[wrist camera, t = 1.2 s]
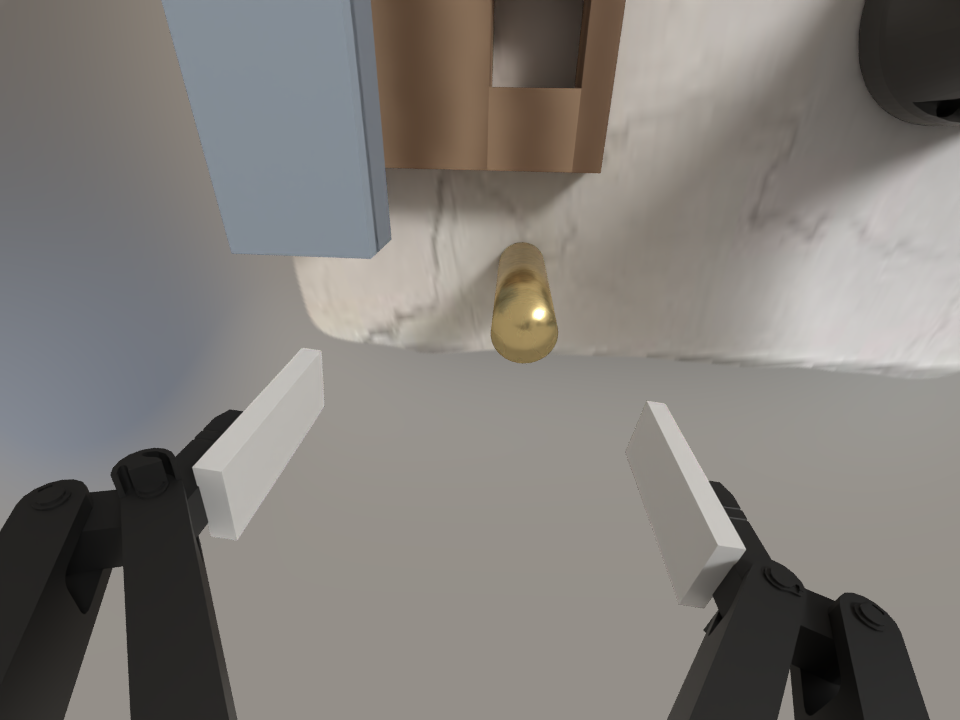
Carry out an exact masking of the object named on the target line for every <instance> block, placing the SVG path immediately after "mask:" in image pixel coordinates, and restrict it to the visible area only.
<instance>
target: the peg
mask: <svg viewBox="0 0 960 720" xmlns="http://www.w3.org/2000/svg"><path fill="white" fill-rule="evenodd" d="M557 338H558V328H557V322H556V318H555V313H554V308H553V303H552V298H551V293H550V288H549V283H548V278H547V273H546V268H545V263H544V259H543V256H542V254H541V252H540V251H539V249H537V248H536V247H535V246H534V245H532V244H529V243H524V242H520V243H515V244H513V245H510V246H509V247H508V248H506V249H505V250H504V252H503V253H502V255H501V257H500V260H499V267H498V276H497V284H496V293H495V301H494V310H493V318H492V327H491V339H492V343H493V345H494V347H495V349H496V350H497V352H498V353H499V354H500V355H502V356H503V357H504V358H506V359H508V360H510V361H513V362H517V363H532V362H535V361H538V360H540V359H542V358H544V357H545V356H547V355H548V354H549V353H550V352H551V351H552V349H553V348H554V346H555V344H556V342H557Z"/></svg>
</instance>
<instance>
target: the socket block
mask: <svg viewBox="0 0 960 720" xmlns="http://www.w3.org/2000/svg"><path fill="white" fill-rule="evenodd" d="M625 2H626V0H584V4H583V14H582V23H581V32H580V41H579V51H578V60H577V69H576V79H575V88H514V87H492V72H493V34H494V0H371V10H372V22H373V33H374V45H375V56H376V68H377V79H378V91H379V102H380V114H381V125H382V137H383V148H384V160H385V168H414V169H453V170H492V171H531V172H570V173H601V167H602V160H603V153H604V146H605V139H606V132H607V125H608V118H609V112H610V105H611V98H612V91H613V84H614V77H615V70H616V64H617V57H618V50H619V43H620V36H621V29H622V22H623V15H624V9H625Z"/></svg>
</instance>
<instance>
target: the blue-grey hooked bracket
mask: <svg viewBox="0 0 960 720" xmlns="http://www.w3.org/2000/svg"><path fill="white" fill-rule="evenodd" d="M162 4H163V8H164V11H165V15H166V19H167V22H168V26H169V29H170V33H171V37H172V40H173V44H174V47H175V51H176V55H177V58H178V62H179V66H180V69H181V73H182V76H183V80H184V84H185V87H186V91H187V94H188V98H189V102H190V105H191V108H192V112H193V116H194V120H195V123H196V127H197V130H198V134H199V138H200V141H201V145H202V148H203V152H204V156H205V159H206V163H207V166H208V170H209V174H210V177H211V181H212V185H213V188H214V192H215V195H216V199H217V202H218V206H219V210H220V213H221V217H222V221H223V224H224V228H225V231H226V235H227V239H228V242H229V245H230V249H231V253H233V254H257V255H285V256H310V257H336V258H363V259H371V258H372V257H373V256H374V255H375V254H376V253H377V252H379V251H380V250H381V249H382V248H383V247H384V246H385V245H386V244H387V243H388V242H389V241H390V240H391V229H390V218H389V206H388V195H387V183H386V171H385V160H384V148H383V137H382V125H381V114H380V102H379V91H378V79H377V68H376V56H375V45H374V33H373V22H372V10H371V0H162Z"/></svg>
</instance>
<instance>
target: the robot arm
mask: <svg viewBox="0 0 960 720" xmlns="http://www.w3.org/2000/svg"><path fill="white" fill-rule="evenodd" d="M859 59H860V66H861V71H862V75H863V78H864V81H865V83H866V86H867V88H868V90H869V92H870V94H871V95H872V97H873V98H874V100H875V101H876V102H877V103H878V104H879V105H880V106H881V107H882V108H883V109H884V110H885V111H887V112H888V113H889V114H891V115H893V116H894V117H896V118H898V119H901V120H903V121H906V122H909V123H913V124H918V125H930V126H960V0H866V2H865V6H864V10H863V14H862V19H861V25H860V33H859ZM323 390H324V389H323V371H322V352H321V351H320V350H313V349H307V348H301V350H300V351H299V352H298V353H297V354H296V355H295V356H294V357H293V358H292V359H291V360H290V362H289V363H288V364H287V365H286V366H285V367H284V368H283V369H282V370H281V371H280V372H279V373H278V375H277V376H276V377H275V378H274V379H273V380H272V381H271V382H270V383H269V385H268V386H267V387H266V388H265V389H264V390H263V391H262V392H261V393H260V394H259V395H258V397H256V398H255V400H254V401H253V402H252V403H251V404H250V405H249V406H248V407H247V408H246V409H245V411H244V412H243V411H237V410H228V411H226V412H225V413H223V414H221V415H219V416H217V417H215V418H214V419H213V420H212V421H211V422H210V423H209V424H208V425H207V426H206V427H205V428H204V430H203V431H201V432H200V433H199V434H198V435H197V436H196V437H195V439H194V440H192V441H191V442H190V443H189V444H188V445H187V446H186V447H185V448H184V449H183V450H182V451H181V452H180V453H179V454H178V455H177V456H176V457H175V456H174V454H173V453H172V452H171V451H169V450H166V449H161V448H151V449H145V450H141V451H138V452H135V453H133V454H130V455H128V456H127V457H125V458H123V459H122V460H120V461H119V462H118V463H117V464H116V465H115V466H114V467H113V469H112V472H111V478H112V480H113V482H114V485H115V487H116V490H110V491H99V492H89V490H88V488H87V486H86V485H85V484H84V483H83V482H81V481H78V480H74V479H73V480H60V481H56V482H52V483H48V484H46V485H43V486H41V487H39V488H37V489H34V490H33V491H31V492H30V493H28V494H27V495H25V496H24V497H23V498H22V499H21V500H20V501H19V502H18V503H17V505H16V506H15V508H14V509H13V511H12V513H11V515H10V516H9V518H8V519H7V521H6V523H5V524H4V526H3V528H2V529H1V531H0V720H64V717H65V713H66V711H67V707H68V704H69V701H70V698H71V695H72V692H73V689H74V686H75V682H76V679H77V677H78V673H79V670H80V667H81V664H82V661H83V658H84V655H85V652H86V649H87V646H88V642H89V639H90V636H91V633H92V630H93V627H94V624H95V621H96V617H97V614H98V611H99V608H100V605H101V602H102V599H103V596H104V592H105V590H106V587H107V584H108V580H109V577H110V574H111V571H112V568H114V567H121V566H123V569H124V591H125V609H126V610H125V611H126V632H127V653H128V673H129V694H130V713H131V720H237V716H236V711H235V706H234V701H233V697H232V692H231V687H230V682H229V677H228V673H227V668H226V663H225V658H224V654H223V649H222V645H221V639H220V634H219V630H218V625H217V620H216V615H215V610H214V606H213V601H212V596H211V591H210V587H209V582H208V577H207V573H206V568H205V563H204V558H203V553H202V549H201V543H200V540H199V536H198V535H199V534H200V533H201V531H202V530H203V529H204V527H205V526H206V525H207V524H208V527H209V531H210V535H211V537H217V538H224V539H231V540H238V538H239V537H240V535H241V534H242V532H243V531H244V529H245V528H246V526H247V524H248V523H249V522H250V520H251V518H252V517H253V515H254V514H255V512H256V511H257V509H258V508H259V506H260V505H261V503H262V502H263V500H264V499H265V497H266V495H267V494H268V492H269V491H270V489H271V488H272V486H273V485H274V483H275V482H276V480H277V478H278V477H279V476H280V474H281V472H282V471H283V469H284V468H285V466H286V465H287V463H288V462H289V460H290V459H291V457H292V455H293V454H294V452H295V451H296V449H297V448H298V446H299V445H300V443H301V442H302V440H303V439H304V437H305V436H306V434H307V432H308V431H309V429H310V428H311V426H312V425H313V423H314V422H315V420H316V418H317V417H318V416H319V414H320V412H321V411H322V409H323V408H324V391H323ZM626 455H627V458H628V461H629V464H630V467H631V470H632V473H633V475H634V478H635V481H636V484H637V487H638V490H639V492H640V495H641V498H642V501H643V504H644V507H645V510H646V512H647V515H648V518H649V521H650V524H651V527H652V530H653V532H654V535H655V538H656V541H657V544H658V547H659V549H660V552H661V555H662V558H663V561H664V564H665V567H666V569H667V572H668V575H669V578H670V581H671V583H672V587H673V589H674V592H675V595H676V598H677V601H678V604H679V605H684V606H691V607H698V608H705V606H706V605H707V604H708V602H709V601H710V600H711V598H712V597H713V598H714V600H715V602H716V604H717V607H718V609H719V610H718V611H717V612H716V614H715V615H714V616H713V618H712V619H711V620H710V622H709V623H708V624H707V626H706V627H705V629H704V631H705V632H706V635H705V637H704V639H703V641H702V643H701V646H700V648H699V650H698V652H697V655H696V657H695V659H694V661H693V663H692V665H691V668H690V670H689V672H688V675H687V677H686V679H685V681H684V683H683V685H682V688H681V690H680V692H679V694H678V697H677V699H676V701H675V703H674V705H673V708H672V710H671V712H670V714H669V716H668V719H667V720H777V718H778V714H779V710H780V706H781V702H782V698H783V694H784V690H785V686H786V682H787V678H788V673H789V669H790V672H791V684H792V695H793V706H794V718H795V720H930V719H929V716H928V713H927V710H926V707H925V704H924V701H923V697H922V695H921V691H920V688H919V686H918V682H917V679H916V676H915V673H914V670H913V668H912V664H911V661H910V658H909V655H908V652H907V649H906V646H905V643H904V640H903V637H902V634H901V632H900V630H899V628H898V626H897V624H896V623H895V621H893V619H892V618H891V617H890V616H889V615H888V613H887V612H885V611H884V610H883V609H882V608H880V607H879V606H878V605H877V604H875V603H874V602H872V601H871V600H869V599H867V598H865V597H863V596H861V595H857V594H855V593H844V594H842V595H841V596H840V597H839V598H838V599H837V600H836V601H834V600H831V599H829V598H827V597H824V596H822V595H819V594H817V593H814V592H812V591H810V590H807V589H805V588H804V586H803V584H802V582H801V581H800V580H799V579H798V578H797V576H795V574H794V573H793V572H791V571H790V570H789V569H787V568H786V567H785V566H783V565H781V564H779V563H777V562H775V561H773V560H771V558H770V556H769V555H768V553H767V551H766V550H765V548H764V546H763V545H762V543H761V542H760V540H759V538H758V536H757V535H756V533H755V531H754V530H753V528H752V526H751V525H750V523H749V522H748V521H747V518H746V516H745V515H744V513H743V511H741V510H740V507H739V505H738V503H737V501H736V500H735V498H734V496H733V495H732V494H731V493H730V492H729V491H728V490H727V489H726V488H725V487H724V486H723V485H722V484H721V483H720V482H713V481H708V479H707V478H706V476H705V474H704V472H703V471H702V469H701V467H700V465H699V463H698V461H697V460H696V458H695V456H694V454H693V453H692V451H691V449H690V447H689V445H688V443H687V442H686V440H685V438H684V436H683V434H682V433H681V431H680V429H679V427H678V425H677V424H676V422H675V420H674V418H673V416H672V414H671V413H670V411H669V409H668V408H667V406H666V404H665V403H659V402H652V401H646V404H645V406H644V408H643V411H642V413H641V416H640V418H639V420H638V423H637V425H636V428H635V430H634V432H633V435H632V437H631V440H630V442H629V444H628V447H627V449H626Z"/></svg>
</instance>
